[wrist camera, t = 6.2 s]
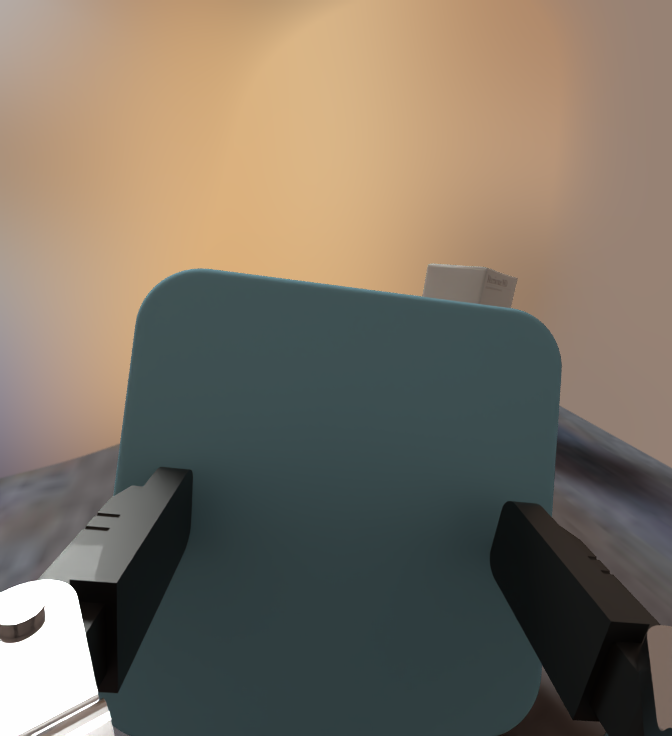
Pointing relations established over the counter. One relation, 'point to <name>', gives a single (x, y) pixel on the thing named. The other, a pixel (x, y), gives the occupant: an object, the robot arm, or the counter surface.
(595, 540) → the counter surface
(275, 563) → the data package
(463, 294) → the skincare box
